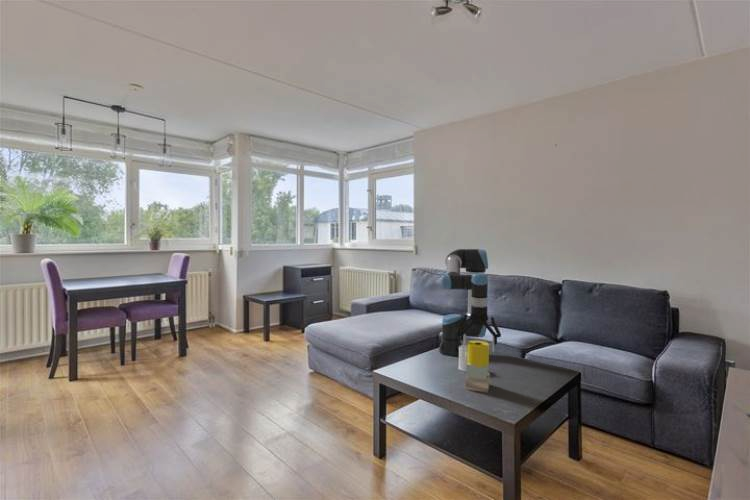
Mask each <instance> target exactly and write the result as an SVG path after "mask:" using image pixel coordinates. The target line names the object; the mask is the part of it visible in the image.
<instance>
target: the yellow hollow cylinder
mask: <svg viewBox="0 0 750 500" xmlns="http://www.w3.org/2000/svg"><path fill="white" fill-rule="evenodd" d="M466 343H467V363H468V364H470V365H473V366H487V365H488V366H489V363H490V343H488V342H487V341H482V340H469V341H467V342H466Z"/></svg>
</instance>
